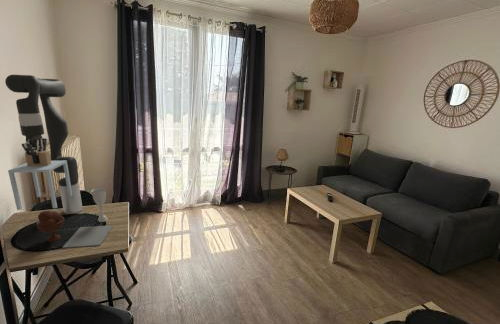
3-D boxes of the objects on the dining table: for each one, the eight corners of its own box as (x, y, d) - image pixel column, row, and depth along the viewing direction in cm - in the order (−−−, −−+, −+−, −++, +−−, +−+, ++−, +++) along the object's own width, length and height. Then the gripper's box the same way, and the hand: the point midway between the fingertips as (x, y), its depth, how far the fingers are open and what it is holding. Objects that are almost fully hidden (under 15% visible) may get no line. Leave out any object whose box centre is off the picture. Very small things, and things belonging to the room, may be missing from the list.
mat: (80, 228, 133) (80, 227, 133) (113, 226, 136) (113, 225, 136) (62, 248, 116) (62, 247, 116) (100, 245, 119) (100, 244, 118)
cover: (38, 196, 123) (28, 148, 117) (72, 195, 126) (64, 148, 120) (17, 209, 109) (4, 156, 103) (55, 208, 112) (46, 155, 106)
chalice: (92, 221, 140) (87, 191, 135) (102, 216, 146) (98, 187, 141) (102, 223, 138) (98, 193, 133) (112, 218, 144) (109, 188, 139)
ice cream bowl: (53, 246, 117) (47, 217, 113) (33, 243, 119) (27, 214, 115) (73, 234, 127) (68, 207, 123) (54, 231, 129) (49, 204, 125)
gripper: (31, 121, 114) (39, 158, 119) (9, 125, 101) (18, 167, 105) (50, 122, 115) (56, 158, 120) (30, 126, 102) (38, 166, 107)
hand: (38, 162), depth 113 cm, fingers closed on cover, 2 cm apart
